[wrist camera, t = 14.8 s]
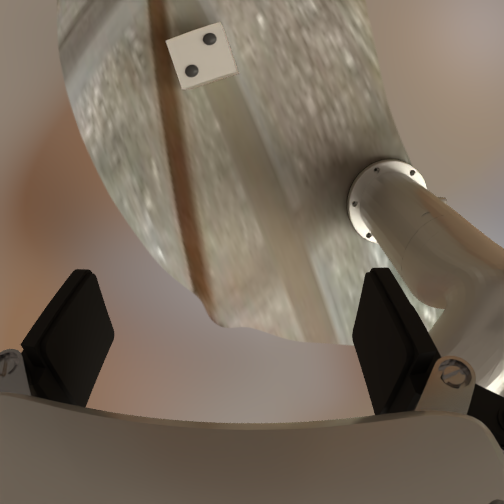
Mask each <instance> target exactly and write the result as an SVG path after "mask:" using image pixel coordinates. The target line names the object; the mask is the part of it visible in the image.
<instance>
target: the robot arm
mask: <svg viewBox="0 0 504 504" xmlns="http://www.w3.org/2000/svg"><path fill="white" fill-rule="evenodd" d="M375 168H376V170H374V169H375ZM410 171H411V172H410ZM353 201H354V203H352V202H353ZM347 212H348V216H349V219H350V221H351V224H352V226H353V227H354V229H355V230H356V231H357V232H358V234H359V235H360V236H361V237H363V238H364V239H366V240H368V241H370V242H373V243H377V244H379V245H380V247H381V248H382V250H383V251H384V252H385V254H386V255H387V257H388V258H389V260H390V261H391V263H392V264H393V266H394V267H395V269H396V270H397V272H398V273H399V275H400V276H401V278H402V279H403V281H404V282H405V284H406V285H407V287H408V288H409V290H410V291H411V293H412V294H413V295H414V296H415V297H416V298H417V299H418V300H419V301H421V302H422V303H424V304H426V305H428V306H431V307H434V308H439V309H445V310H444V312H443V313H442V315H441V316H440V317H439V319H438V320H437V321H436V323H435V324H434V326H433V328H432V329H431V330H430V331H429V333H428V331H427V329H426V328H425V326H424V324H423V322H422V320H421V319H420V317H419V315H418V313H417V312H416V310H415V308H414V307H413V306H412V305H411V304H410V302H409V300H408V299H407V297H406V295H405V293H404V292H403V290H402V289H401V287H400V285H399V284H398V282H397V280H396V279H395V277H394V275H393V274H392V272H391V271H390V269H389V268H372V269H371V271H370V272H367V273H366V275H365V279H364V284H363V288H362V293H361V298H360V302H359V307H358V311H357V316H356V320H355V324H354V328H353V334H352V338H353V343H354V346H355V349H356V352H357V355H358V358H359V362H360V365H361V368H362V372H363V375H364V378H365V382H366V385H367V388H368V392H369V395H370V399H371V402H372V406H373V409H374V413H375V415H373V416H365V417H357V418H346V419H336V420H325V421H312V422H294V423H293V422H292V423H212V422H193V421H180V420H169V419H159V418H149V417H142V416H134V415H127V414H120V413H113V412H107V411H101V410H96V409H90V408H85V407H86V404H87V402H88V399H89V396H90V394H91V391H92V389H93V387H94V384H95V382H96V379H97V377H98V375H99V372H100V370H101V367H102V365H103V363H104V360H105V358H106V355H107V353H108V351H109V348H110V346H111V344H112V342H113V340H114V329H113V327H112V324H111V321H110V318H109V315H108V312H107V309H106V306H105V303H104V300H103V297H102V294H101V291H100V288H99V284H98V281H97V278H96V276H95V274H92V272H91V271H90V270H81V269H77V270H75V271H73V272H72V274H71V275H70V276H69V278H68V279H67V280H66V281H65V283H64V284H63V285H62V287H61V288H60V289H59V291H58V292H57V293H56V295H55V296H54V297H53V299H52V300H51V301H50V303H49V304H48V305H47V307H46V308H45V310H44V311H43V312H42V314H41V315H40V317H39V318H38V320H37V321H36V323H35V324H34V325H33V327H32V328H31V330H30V331H29V333H28V334H27V336H26V337H25V339H24V340H23V342H22V343H21V346H22V348H23V349H24V350H23V352H22V353H20V352H19V351H18V350H15V349H7V350H4V351H2V352H0V504H504V249H503V248H502V247H501V246H499V245H498V244H496V243H495V242H493V241H492V240H491V239H490V238H488V237H487V236H486V235H484V234H483V233H482V232H481V231H479V230H478V229H477V228H476V227H474V226H473V225H472V224H471V223H470V222H468V221H467V220H466V219H465V218H463V217H462V216H461V215H460V214H458V213H457V212H456V211H455V210H453V209H452V208H451V207H450V206H448V205H447V200H446V198H443V197H436V196H435V195H434V194H432V193H431V192H430V191H428V189H427V186H426V182H425V180H424V178H423V177H422V175H421V174H420V173H419V172H418V170H416V168H414V167H413V166H411V165H410V164H408V163H406V162H404V161H401V160H397V159H386V160H381V161H378V162H375V163H373V164H371V165H370V166H368V167H366V168H365V169H364V170H363V171H362V172H361V173H360V174H359V175H358V176H357V178H356V179H355V180H354V182H353V184H352V186H351V188H350V191H349V194H348V200H347ZM367 233H368V234H367Z"/></svg>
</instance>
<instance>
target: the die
mask: <svg viewBox="0 0 504 504" xmlns="http://www.w3.org/2000/svg"><path fill="white" fill-rule="evenodd" d="M166 43H167V46H168V49H169V52H170V55H171V58H172V61H173V64H174V67H175V70H176V73H177V76H178V79H179V82H180V85H181V87H182V90H184V89H193V88H196V87H199V86H202V85H205V84H208V83H211V82H214V81H217V80H220V79H224V78H227V77H230V76H233V75H237V74H239V72H238V69H237V66H236V63H235V60H234V57H233V54H232V51H231V48H230V45H229V42H228V39H227V36H226V33H225V30H224V28H223V26H222V24H221V22H218V23H214V24H211V25H208V26H205V27H202V28H199V29H196V30H193V31H190V32H188V33H185V34H182V35H179V36H177V37H174V38H171V39H169V40H166Z"/></svg>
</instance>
